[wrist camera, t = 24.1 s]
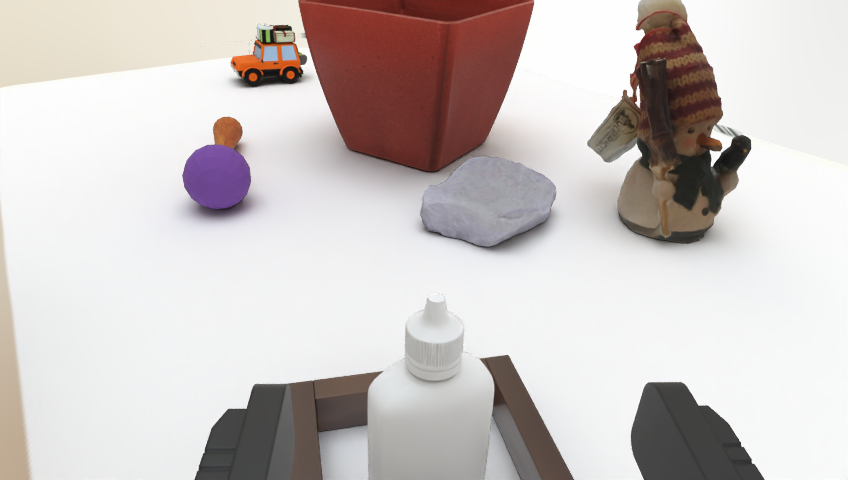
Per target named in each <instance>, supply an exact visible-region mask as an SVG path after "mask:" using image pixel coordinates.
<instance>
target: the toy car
mask: <svg viewBox="0 0 848 480" xmlns="http://www.w3.org/2000/svg"><path fill="white" fill-rule="evenodd" d="M271 26H272V25H270V26H267V25H266V24H264V26H261V25H260V24H258V25H257V35H258V38H257V39H258V40H256V41H255V43H254V44H255V46H254V52H253V55H245V56H236V57H233V58H232V61H231V67H232V69H233V70H234V72H236V73H237V75H238V76H239V77H241V78H244V80H245V82H246V83H248V84H249V85H251V86H254V85H255V86H256V85H257V84H259V83H260V82H261V79H262V77H271V76H282V79H284V81H285V82H287V83H294V82H295V81H297V79H298V78H299V77H302V75H301V74H303V70H302V69H301V67H300V65H304V64H305V63H306V61H307V56H306V55H303V54H302V53H300V52H298V48H297V46H296V44H294V43H293V42H294V41H295V33H294V32H292V27H291V26H288V25H275V26H273V27H271ZM249 43H250V42H249Z"/></svg>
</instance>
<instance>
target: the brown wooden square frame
mask: <svg viewBox="0 0 848 480" xmlns="http://www.w3.org/2000/svg"><path fill="white" fill-rule="evenodd" d="M480 360H481V361H482V363H483V364H484V365H485V366H486V368H487V369H488V371H489V372H490V374H491V376H492V378H493V382H494V400H493V411H492V414H493V416H494V419H495V421H496V423H497V425H498V428H499V430H500V432H501V435H502V437H503V439H504V441H505V444H506V446H507V448H508V451H509V453H510V455H511V457H512V460H513V462H514V464H515V467H516V469H517V471H518V474H519V476H520V478H521V480H574V479H573V477H572V475H571V473H570V471H569V469H568V467H567V465H566V464H565V462H564V460H563V458H562V456H561V454H560V452H559V450H558V448H557V447H556V445H555V443H554V441H553V439H552V437H551V435H550V433H549V431H548V429H547V428H546V426H545V424H544V422H543V420H542V418H541V416H540V414H539V412H538V411H537V409H536V407H535V405H534V403H533V401H532V399H531V397H530V395H529V393H528V392H527V390H526V388H525V386H524V384H523V382H522V380H521V378H520V376H519V375H518V373H517V371H516V369H515V367H514V365H513V363H512V361H511V359H510V357H509V356H508V355H504V356H497V357H489V358H485V359H484V358H481V359H480ZM382 372H383V371H381V372H374V373H366V374H358V375H351V376H343V377H335V378H328V379H320V380H314V381H305V382H297V383H290V384H289V386H290V391H291V401H292V411H293V421H294V431H295V449H294V460H293V466H292V472H291V478H290V480H323V479H322V469H321V458H320V448H319V437H318V432H319V431H326V430H333V429H340V428H346V427H353V426H360V425H367V424H368V389H369V387H370V385H371V383H372V382H373V381H374V379H375V378H377V377H378V376H379V375H380V374H381V373H382Z"/></svg>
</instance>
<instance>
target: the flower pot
mask: <svg viewBox="0 0 848 480" xmlns="http://www.w3.org/2000/svg"><path fill="white" fill-rule="evenodd" d="M298 2H299V7H300V12H301V16H302V21H303V26H304V30H305V34H306V38H307V42H308V46H309V49H310V53H311V56H312V59H313V62H314V66H315V69H316V72H317V75H318V78H319V81H320V84H321V86H322V89H323V92H324V95H325V97H326V100H327V103H328V105H329V108H330V110H331V112H332V115H333V117H334V120H335V122H336V124H337V127H338V129H339V131H340V134H341V136H342V138H343V140H344V142H345V144H346V146H347V147H348V148H349V149H352V150H355V151H359V152H362V153H365V154H369V155H372V156H376V157H379V158H383V159H386V160H390V161H393V162H397V163H400V164H404V165H407V166H411V167H414V168H418V169H421V170H425V171H437V170H439V169H441V168H442V167H444V166H446V165H447V164H449V163H451V162H452V161H454V160H456V159H457V158H459V157H461V156H462V155H464V154H466V153H467V152H469V151H470V150H472V149H474V148H475V147H477V146H478V145H480V144H482V143H484V142H485V140H486V138H487V136H488V134H489V132H490V130H491V128H492V126H493V124H494V121H495V119H496V117H497V115H498V112H499V110H500V108H501V105H502V103H503V100H504V98H505V96H506V93H507V91H508V88H509V85H510V83H511V80H512V77H513V74H514V71H515V68H516V65H517V62H518V59H519V56H520V53H521V50H522V47H523V43H524V40H525V36H526V33H527V29H528V26H529V22H530V18H531V14H532V10H533V6H534V0H299V1H298Z"/></svg>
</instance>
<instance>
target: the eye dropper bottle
mask: <svg viewBox="0 0 848 480" xmlns="http://www.w3.org/2000/svg"><path fill="white" fill-rule="evenodd" d="M463 338H464V325H463V322H462V321H461V319H460V318H459V317H458V316H456V315H455V314H453V313H452V312H449V311H447V306H446V300H445V296H444V295H443V294H441V293H431V294H429V295H428V298H427V302H426V305H425V309H424V310H421V311H418V312H416V313H414V314H413V315H412V316H411V317H410V318H409V319H408V320H407V322H406V336H405V358H403V359H401V360H399V361H398V362H396V363H395V364H393V365H392V366H390V367H389V368H387V369H386V370H385V371H383V372H382V373H381V374H380V375H379V376H378V377H377V378H375V379H374V381H373V382H372V383H371V385H370V387H369V389H368V468H369V480H484V479H485V470H486V462H487V454H488V445H489V437H490V428H491V419H492V411H493V400H494V382H493V378H492V376H491V374H490V372H489V371H488V369H487V368H486V366H485V365H484V364H483V363H482V361H481V360H480V359H479V358H478V357H476V356H475V355H473V354H470V353H467V352H462V351H463Z"/></svg>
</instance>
